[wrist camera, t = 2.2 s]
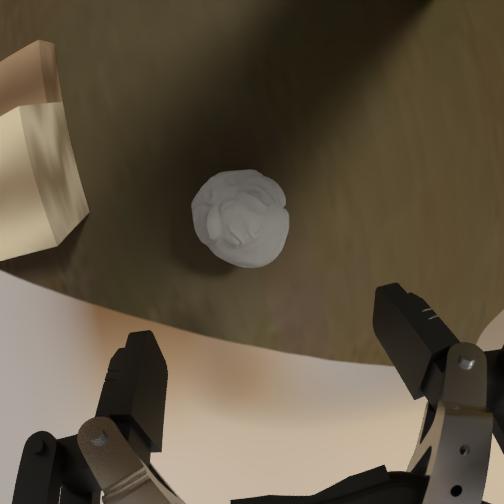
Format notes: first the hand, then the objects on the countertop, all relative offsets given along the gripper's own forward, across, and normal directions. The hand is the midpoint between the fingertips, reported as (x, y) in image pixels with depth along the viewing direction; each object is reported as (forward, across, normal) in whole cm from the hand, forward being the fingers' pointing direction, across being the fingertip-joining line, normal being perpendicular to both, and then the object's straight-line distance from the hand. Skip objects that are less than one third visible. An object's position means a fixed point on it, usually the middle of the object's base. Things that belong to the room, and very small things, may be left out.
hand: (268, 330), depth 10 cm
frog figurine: (+14, 0, 0) cm, 14 cm away
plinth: (+14, +16, -9) cm, 23 cm away
